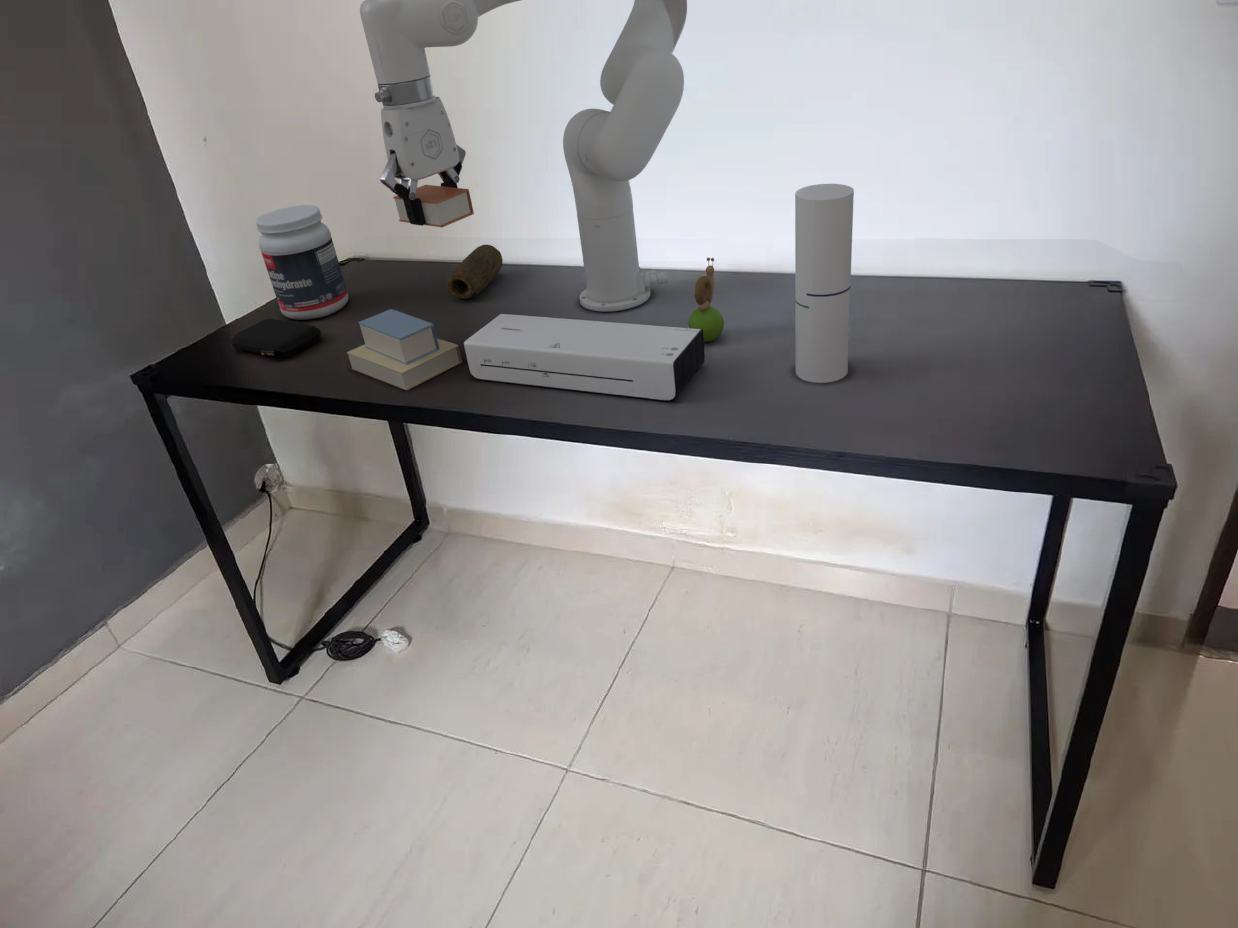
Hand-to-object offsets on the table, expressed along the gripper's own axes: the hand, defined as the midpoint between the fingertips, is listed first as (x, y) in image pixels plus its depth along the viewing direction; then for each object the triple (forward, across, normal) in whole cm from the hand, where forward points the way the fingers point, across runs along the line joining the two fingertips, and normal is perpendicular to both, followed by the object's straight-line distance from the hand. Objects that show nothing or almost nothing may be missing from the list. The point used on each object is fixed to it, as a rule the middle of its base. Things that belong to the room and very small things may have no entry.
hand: (436, 215), depth 133 cm
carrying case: (+21, -17, +31) cm, 41 cm away
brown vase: (+22, +19, +17) cm, 33 cm away
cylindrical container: (+22, +15, -57) cm, 63 cm away
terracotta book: (0, 0, 0) cm, 0 cm away
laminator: (+22, 0, -26) cm, 34 cm away
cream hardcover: (+21, -11, +2) cm, 24 cm away
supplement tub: (+21, -2, +40) cm, 45 cm away
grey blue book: (+18, -11, +2) cm, 21 cm away
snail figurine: (+22, +18, -36) cm, 46 cm away
